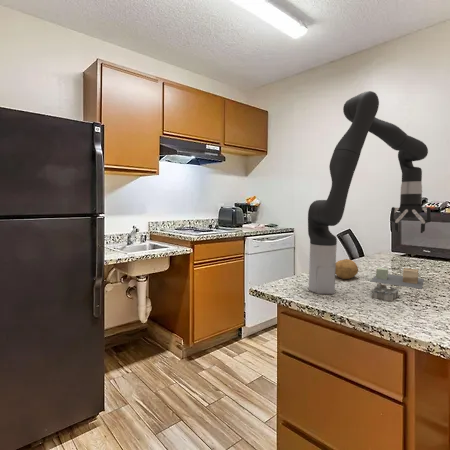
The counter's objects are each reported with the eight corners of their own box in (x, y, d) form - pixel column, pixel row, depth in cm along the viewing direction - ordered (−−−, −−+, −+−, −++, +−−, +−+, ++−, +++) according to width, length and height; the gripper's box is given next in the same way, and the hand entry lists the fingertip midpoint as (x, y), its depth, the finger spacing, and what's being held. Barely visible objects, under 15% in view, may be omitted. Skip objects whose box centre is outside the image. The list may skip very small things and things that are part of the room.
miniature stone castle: (379, 292, 113) (380, 281, 112) (401, 296, 107) (402, 285, 107) (368, 297, 106) (368, 286, 105) (391, 302, 100) (391, 290, 100)
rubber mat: (421, 290, 115) (421, 288, 115) (369, 282, 126) (369, 281, 126) (424, 279, 132) (424, 278, 132) (378, 273, 142) (378, 272, 142)
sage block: (386, 279, 129) (386, 270, 129) (376, 278, 131) (376, 268, 131) (387, 277, 132) (388, 268, 132) (377, 276, 135) (378, 267, 134)
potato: (328, 280, 129) (329, 261, 128) (337, 274, 140) (338, 257, 140) (352, 284, 123) (353, 264, 123) (360, 277, 135) (361, 259, 134)
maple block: (417, 283, 122) (417, 271, 122) (402, 282, 125) (403, 269, 125) (417, 281, 127) (418, 269, 126) (403, 279, 129) (404, 268, 129)
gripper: (390, 193, 127) (389, 232, 128) (431, 192, 119) (430, 234, 120) (392, 193, 133) (391, 230, 134) (431, 192, 125) (430, 232, 126)
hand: (409, 232), depth 127 cm, fingers open, 8 cm apart
